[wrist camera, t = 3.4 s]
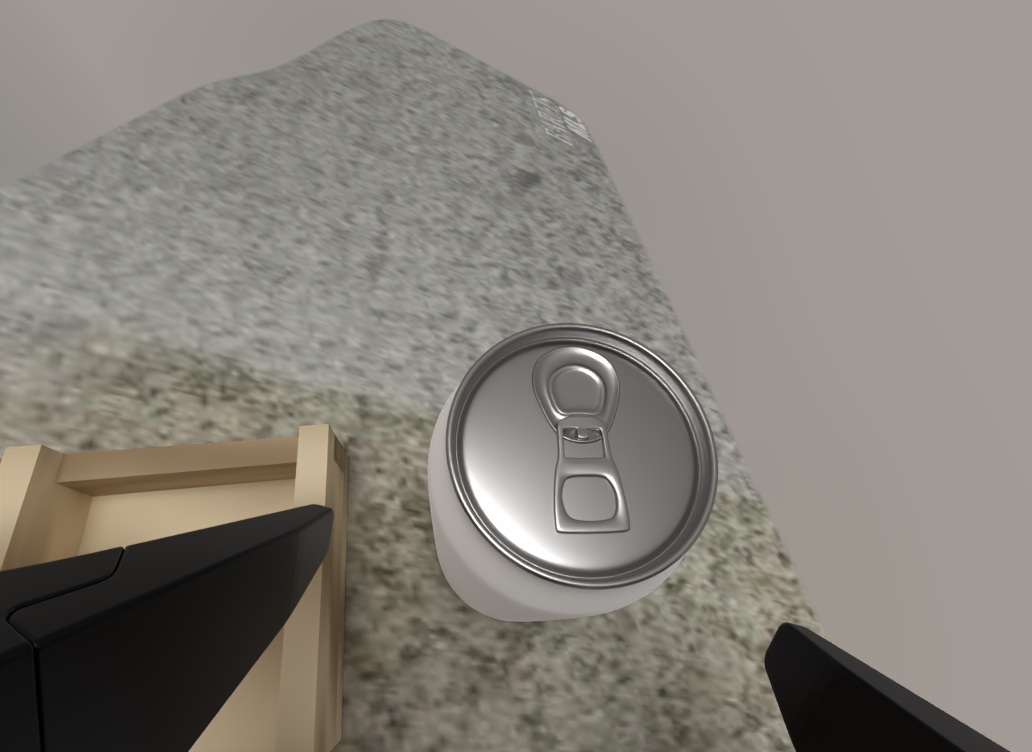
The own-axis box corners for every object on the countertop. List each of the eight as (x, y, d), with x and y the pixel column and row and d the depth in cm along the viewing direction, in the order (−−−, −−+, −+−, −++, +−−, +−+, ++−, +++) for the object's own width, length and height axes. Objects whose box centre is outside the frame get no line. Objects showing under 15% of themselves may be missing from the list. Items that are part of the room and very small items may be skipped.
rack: (341, 739, 16) (312, 770, 13) (-386, 871, 13) (-692, 961, 10) (348, 458, 21) (328, 424, 17) (-193, 503, 18) (-353, 472, 14)
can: (579, 461, 22) (701, 311, 12) (596, 618, 19) (780, 608, 9) (438, 462, 21) (429, 300, 11) (432, 626, 18) (412, 625, 8)
